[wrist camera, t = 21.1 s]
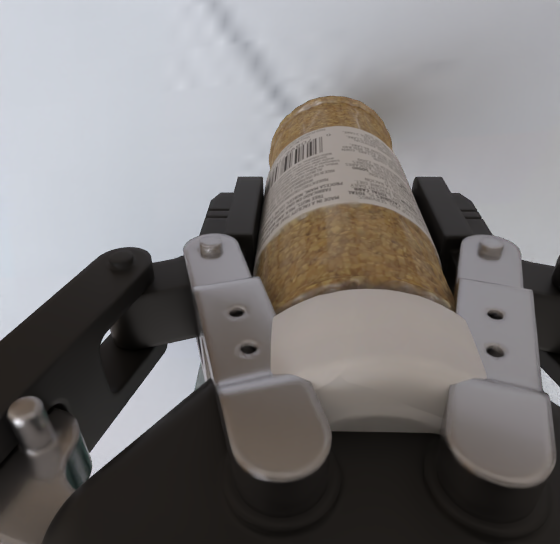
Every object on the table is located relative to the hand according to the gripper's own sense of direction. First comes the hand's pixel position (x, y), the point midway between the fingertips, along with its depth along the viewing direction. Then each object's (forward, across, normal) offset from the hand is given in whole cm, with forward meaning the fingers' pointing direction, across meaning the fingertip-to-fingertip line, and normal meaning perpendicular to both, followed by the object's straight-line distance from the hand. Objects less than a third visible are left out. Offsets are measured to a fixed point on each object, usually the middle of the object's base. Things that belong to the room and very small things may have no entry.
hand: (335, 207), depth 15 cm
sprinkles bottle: (+5, 0, 0) cm, 5 cm away
